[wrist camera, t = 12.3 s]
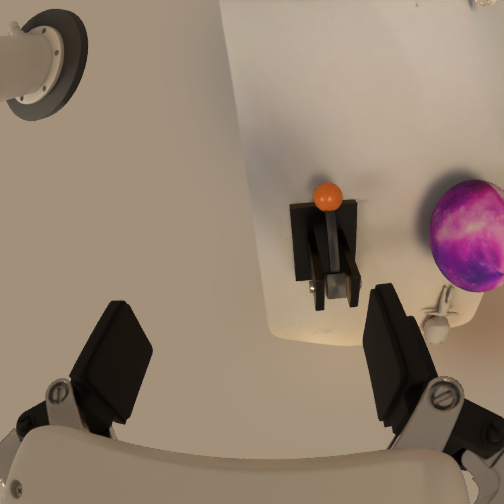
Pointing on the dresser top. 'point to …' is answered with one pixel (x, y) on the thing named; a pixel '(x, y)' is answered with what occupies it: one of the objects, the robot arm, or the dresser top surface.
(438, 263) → the decorative orb
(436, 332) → the figurine
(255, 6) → the dresser top surface
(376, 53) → the dresser top surface
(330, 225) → the switch lever
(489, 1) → the cup
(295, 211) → the switch bracket
